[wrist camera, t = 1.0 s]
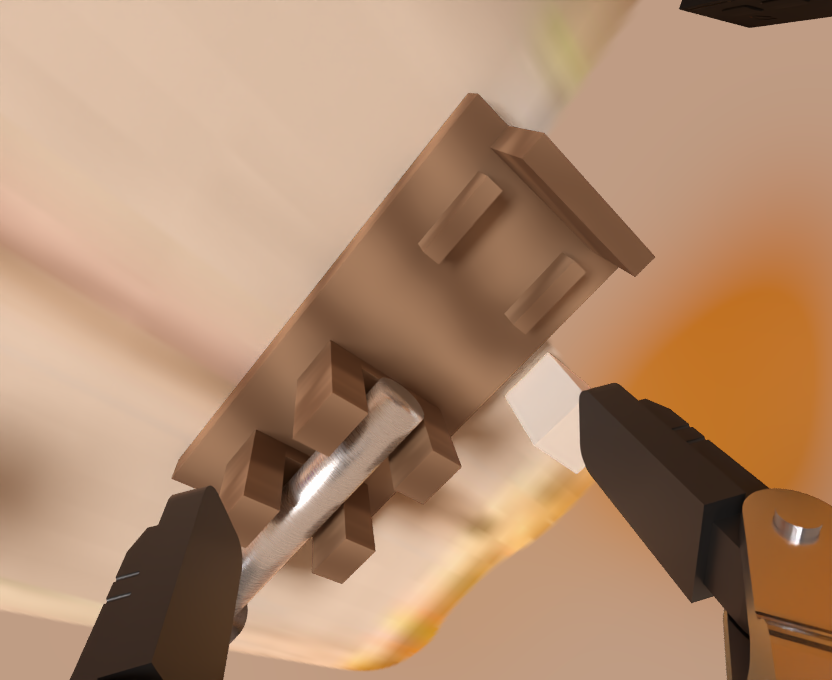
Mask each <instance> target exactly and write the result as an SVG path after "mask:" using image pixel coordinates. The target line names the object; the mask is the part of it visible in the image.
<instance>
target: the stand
mask: <svg viewBox="0 0 832 680" xmlns="http://www.w3.org/2000/svg"><path fill="white" fill-rule="evenodd" d="M654 258H655V256H654V255H653V254H652V253H651V252H650V251H649V249H648V248H647V247H646V246H645V245H644V244H643V243H642V242H641V241H640V239H639V238H638V237H637V236H636V235H635V234H634V233H633V231H632V230H631V229H630V228H629V227H628V226H627V225H626V224H625V223H624V222H623V220H622V219H621V218H620V217H619V216H618V215H617V214H616V213H615V211H614V210H613V209H612V208H611V207H610V206H609V205H608V204H607V203H606V201H605V200H604V199H603V198H602V197H601V196H600V195H599V194H598V193H597V191H596V190H595V189H594V188H593V187H592V186H591V185H590V184H589V182H588V181H586V179H585V178H584V177H583V176H582V175H581V174H580V173H579V171H578V170H577V169H576V168H575V167H574V166H573V165H572V164H571V162H570V161H569V160H568V159H567V158H566V157H565V156H564V155H563V153H561V151H560V150H559V149H558V148H557V147H556V146H555V145H554V143H553V142H552V141H551V140H550V139H549V138H548V137H547V136H546V135H545V133H541V132H536V131H531V130H526V129H521V128H516V127H511V126H508V125H507V124H506V123H505V122H504V121H503V120H502V119H501V118H500V117H499V116H498V115H497V113H496V112H495V111H494V110H493V109H492V108H491V107H490V106H489V105H488V104H487V103H486V102H485V101H484V100H483V98H482V97H481V96H480V95H479V94H474V93H468V94H467V95H466V97H465V98H464V99H463V100H462V102H461V103H460V104H459V105H458V107H457V108H456V109H455V110H454V112H453V113H452V114H451V116H450V117H449V118H448V119H447V121H446V122H445V123H444V124H443V126H442V127H441V128H440V129H439V131H438V132H437V133H436V135H435V136H434V137H433V138H432V140H431V141H430V142H429V143H428V145H427V146H426V147H425V148H424V150H423V151H422V152H421V154H420V155H419V156H418V157H417V159H416V160H415V161H414V162H413V164H412V165H411V166H410V167H409V169H408V170H407V171H406V173H405V174H404V175H403V176H402V178H401V179H400V180H399V181H398V183H397V184H396V185H395V186H394V188H393V189H392V190H391V192H390V193H389V194H388V195H387V197H386V198H385V199H384V200H383V202H382V203H381V204H380V205H379V207H378V208H377V209H376V211H375V212H374V213H373V214H372V216H371V217H370V218H369V219H368V221H367V222H366V223H365V224H364V226H363V227H362V228H361V230H360V231H359V232H358V233H357V235H356V236H355V237H354V238H353V240H352V241H351V242H350V243H349V245H348V246H347V247H346V249H345V250H344V251H343V252H342V254H341V255H340V256H339V257H338V259H337V260H336V261H335V262H334V264H333V265H332V266H331V268H330V269H329V270H328V271H327V273H326V274H325V275H324V276H323V278H322V279H321V280H320V281H319V283H318V284H317V285H316V287H315V288H314V289H313V290H312V292H311V293H310V294H309V295H308V297H307V298H306V299H305V300H304V302H303V303H302V304H301V306H300V307H299V308H298V309H297V311H296V312H295V313H294V314H293V316H292V317H291V318H290V319H289V321H288V322H287V323H286V325H285V326H284V327H283V328H282V330H281V331H280V332H279V333H278V335H277V336H276V337H275V338H274V340H273V341H272V342H271V344H270V345H269V346H268V347H267V349H266V350H265V351H264V352H263V354H262V355H261V356H260V357H259V359H258V360H257V361H256V363H255V364H254V365H253V366H252V368H251V369H250V370H249V371H248V373H247V374H246V375H245V376H244V378H243V379H242V380H241V382H240V383H239V384H238V385H237V387H236V388H235V389H234V390H233V392H232V393H231V394H230V395H229V397H228V398H227V399H226V401H225V402H224V403H223V404H222V406H221V407H220V408H219V409H218V411H217V412H216V413H215V414H214V416H213V417H212V418H211V420H210V421H209V422H208V423H207V425H206V426H205V427H204V428H203V430H202V431H201V432H200V433H199V435H198V436H197V437H196V439H195V440H194V441H193V442H192V444H191V445H190V446H189V447H188V449H187V450H186V451H185V452H184V454H183V455H182V456H181V458H180V459H179V460H178V463H177V466H176V468H175V471H174V474H173V476H172V479H174V480H176V481H178V482H181V483H183V484H186V485H188V486H191V487H193V488H196V489H198V488H202V487H206V486H209V485H210V486H213V487H214V488H215V489H216V491H217V492H218V494H219V497H220V499H221V501H222V503H223V505H224V507H225V509H226V512H227V514H228V516H229V518H230V520H231V522H232V525H233V527H234V529H235V531H236V533H237V535H238V538H239V541H240V545H241V547H244V548H247V547H248V546H249V545H250V543H251V542H252V541H253V540H254V539H255V538H256V537H257V536H258V535H259V533H260V532H261V531H262V530H263V529H264V528H265V527H266V526H267V525H268V524H269V522H270V521H271V520H272V519H273V518H274V517H275V516H276V515H277V514H278V513H279V511H280V506H281V495H282V488H283V487H284V486H285V485H286V484H287V483H288V481H289V480H290V479H291V478H292V477H293V476H294V475H295V474H296V472H297V471H298V470H299V469H300V468H301V467H302V466H303V465H304V463H305V462H306V461H307V460H308V459H309V458H310V457H311V456H312V455H313V453H314V452H315V451H318V452H320V453H322V454H324V455H326V456H328V457H329V456H330V455H331V454H332V453H333V452H334V451H335V450H336V449H337V448H338V447H339V445H340V444H341V443H342V442H343V441H344V440H345V439H346V438H347V437H348V435H349V434H350V433H351V432H352V431H353V430H354V429H355V428H356V427H357V426H358V424H359V423H360V422H361V421H362V420H363V419H364V418H365V417H366V416H367V415H368V406H367V399H366V394H367V393H368V392H369V391H370V390H371V388H372V387H373V386H374V385H375V384H376V383H377V382H378V381H379V380H380V379H381V378H389V379H391V380H393V381H395V382H397V383H398V384H400V385H401V386H403V387H404V388H405V389H406V390H408V391H409V392H410V393H411V394H412V395H413V396H414V398H415V399H416V400H417V401H418V403H419V404H420V406H421V408H422V410H423V412H424V419H423V420H422V421H421V422H420V423H419V424H418V425H417V426H416V427H415V428H414V429H413V431H412V432H411V433H410V434H409V435H408V436H407V437H406V438H405V439H404V440H403V441H402V442H401V443H400V444H399V445H398V446H397V447H396V448H395V449H394V450H393V451H392V453H391V454H390V455H389V456H388V457H387V458H386V459H385V460H384V461H383V462H382V463H381V464H380V465H379V466H378V467H377V468H376V469H375V470H374V471H373V472H372V473H371V475H370V476H369V477H368V478H367V479H366V480H365V481H364V482H363V483H362V484H361V485H360V486H359V487H358V488H357V489H356V490H355V491H354V492H353V493H352V494H351V495H350V496H349V498H348V499H347V500H346V501H345V502H344V503H343V504H342V505H341V506H340V507H339V508H338V509H337V510H336V511H335V512H334V513H333V514H332V515H331V516H330V517H329V518H328V520H327V521H326V522H325V523H324V524H323V525H322V526H321V527H320V528H319V529H318V530H317V531H316V532H315V533H314V534H313V535H312V536H313V552H312V573H314V574H316V575H319V576H322V577H325V578H327V579H330V580H333V581H335V582H338V583H341V584H343V583H344V582H345V581H346V580H347V579H348V578H349V577H350V576H351V575H352V574H353V573H354V572H355V571H356V570H357V569H358V568H359V567H360V566H361V565H362V564H363V563H364V562H365V561H366V560H367V559H368V558H369V557H370V556H371V555H372V554H373V553H374V552H375V543H374V535H373V526H372V518H371V517H372V516H373V515H374V514H375V513H376V512H377V511H378V510H379V509H380V508H381V507H382V506H383V505H384V504H385V503H386V502H387V501H388V500H389V499H390V498H391V497H392V496H393V495H394V494H395V493H396V492H399V493H401V494H403V495H405V496H407V497H409V498H411V499H413V500H415V501H417V502H419V503H421V504H424V503H425V502H426V501H427V500H428V499H429V498H430V497H432V496H433V495H434V494H435V493H436V492H437V491H438V490H439V489H440V488H441V487H442V486H443V485H444V484H445V483H446V482H447V481H448V480H449V479H450V478H451V477H452V476H453V475H454V474H455V473H456V472H457V471H458V470H459V469H460V468H461V464H460V461H459V458H458V456H457V453H456V450H455V448H454V445H453V442H452V440H451V436H452V435H453V434H454V433H455V432H456V431H457V430H458V429H459V428H460V427H461V426H462V425H463V424H464V423H465V422H466V421H467V420H468V419H469V418H470V417H471V416H472V415H473V414H474V413H475V412H476V411H477V410H478V409H479V408H480V407H481V406H482V405H483V404H484V403H485V402H486V401H487V400H488V399H489V398H490V397H491V396H492V395H493V394H494V393H495V392H496V391H497V390H498V389H499V388H500V387H501V386H502V385H503V384H504V383H505V382H506V381H507V380H508V379H509V377H510V376H511V375H512V374H513V373H514V372H515V371H516V370H517V369H518V368H519V367H520V366H521V365H522V364H523V363H524V362H525V361H526V360H527V359H528V358H529V357H530V356H531V355H532V354H533V353H534V352H535V351H536V350H537V349H538V348H539V347H540V346H541V345H542V344H543V343H544V342H545V341H546V340H547V339H548V338H549V337H550V336H551V335H552V334H553V333H554V332H555V331H556V330H557V329H558V328H559V327H560V326H561V325H562V324H563V323H564V322H565V321H566V320H567V319H568V318H569V317H570V316H571V315H572V314H573V313H574V312H575V310H577V309H578V308H579V307H580V306H581V305H582V304H583V303H584V302H585V301H586V300H587V299H588V298H589V297H590V296H591V295H592V293H594V291H596V290H597V288H599V287H600V286H601V285H602V284H603V282H605V280H606V279H607V278H608V277H609V276H610V275H611V274H612V273H613V272H614V271H615V270H616V269H617V268H618V267H619V268H621V269H623V270H624V271H626V272H628V273H629V274H631V275H633V276H636V275H637V274H639V272H641V270H642V269H644V268H645V266H647V264H649V263H650V262H651V260H653V259H654Z"/></svg>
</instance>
